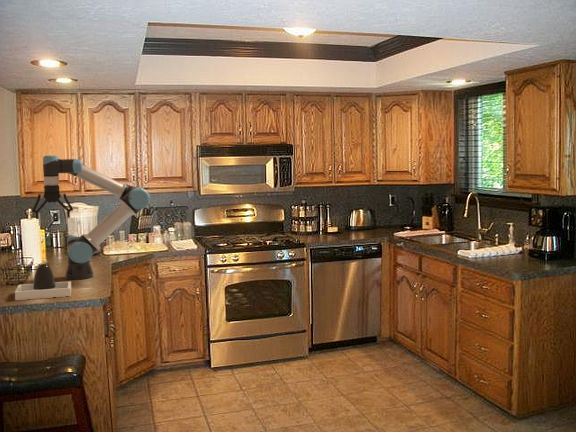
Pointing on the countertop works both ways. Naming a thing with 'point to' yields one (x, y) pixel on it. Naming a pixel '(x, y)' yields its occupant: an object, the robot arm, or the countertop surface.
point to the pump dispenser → (43, 278)
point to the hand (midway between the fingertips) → (53, 224)
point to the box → (43, 291)
